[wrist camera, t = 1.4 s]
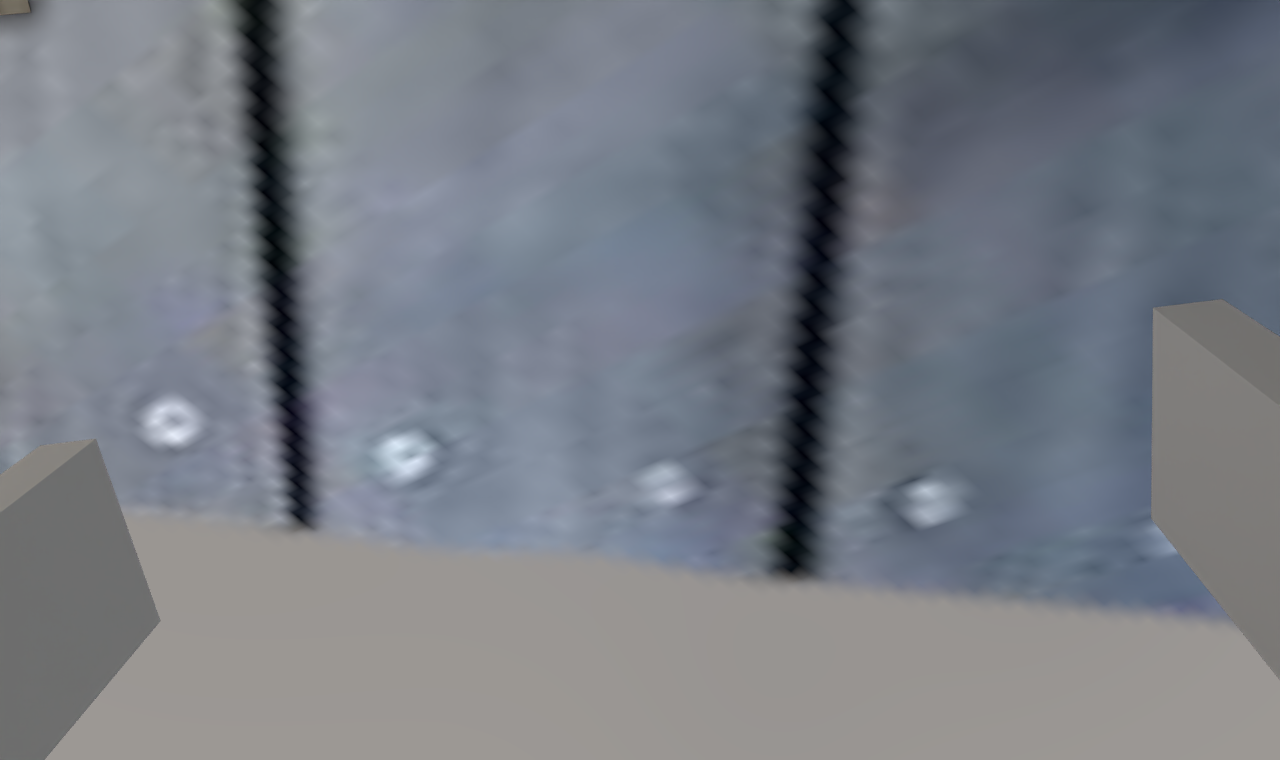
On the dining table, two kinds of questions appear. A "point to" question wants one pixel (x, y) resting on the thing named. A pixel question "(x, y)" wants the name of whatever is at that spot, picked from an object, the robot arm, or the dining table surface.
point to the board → (14, 7)
